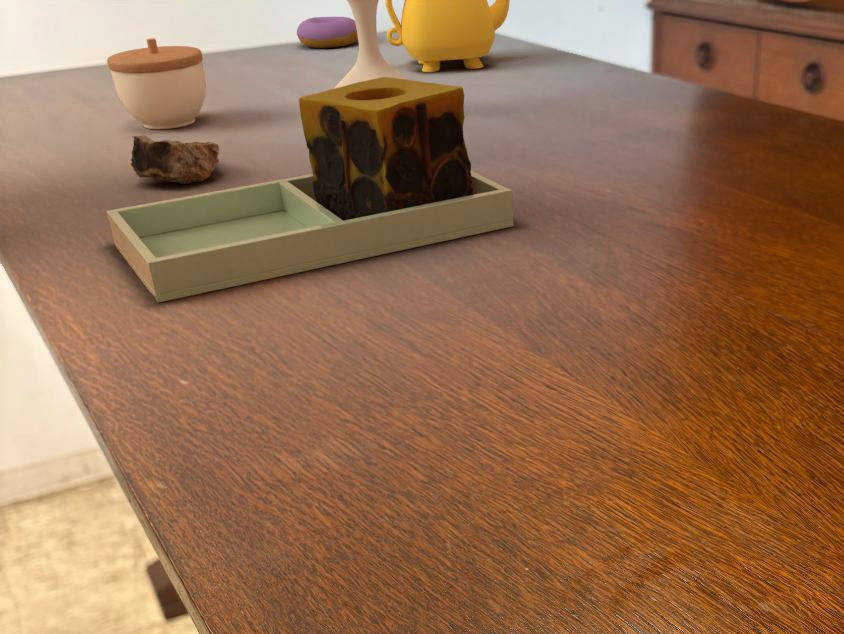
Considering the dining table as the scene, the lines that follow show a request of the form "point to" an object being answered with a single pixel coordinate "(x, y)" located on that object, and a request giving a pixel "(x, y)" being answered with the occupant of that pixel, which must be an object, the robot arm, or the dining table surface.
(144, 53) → the trinket box
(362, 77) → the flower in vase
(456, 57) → the teapot
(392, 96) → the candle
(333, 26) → the donut
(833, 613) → the dining table surface
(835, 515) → the dining table surface
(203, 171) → the rock
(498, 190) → the tray
